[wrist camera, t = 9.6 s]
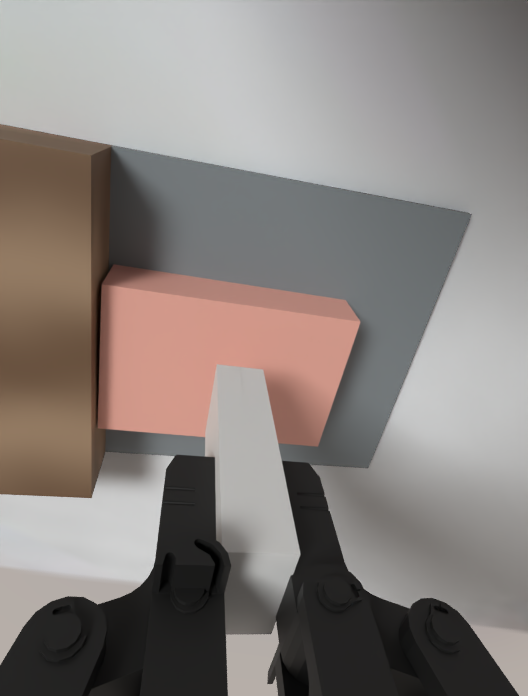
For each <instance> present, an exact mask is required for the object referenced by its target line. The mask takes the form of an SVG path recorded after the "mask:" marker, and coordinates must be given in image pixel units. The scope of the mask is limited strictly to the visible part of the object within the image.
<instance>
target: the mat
mask: <svg viewBox="0 0 528 696" xmlns="http://www.w3.org/2000/svg"><path fill="white" fill-rule="evenodd" d="M471 215H472V214H469V213H466V212H461V211H456V210H450V209H445V208H440V207H434V206H429V205H424V204H419V203H413V202H408V201H403V200H398V199H392V198H387V197H382V196H376V195H371V194H366V193H361V192H355V191H350V190H345V189H339V188H334V187H329V186H324V185H318V184H313V183H308V182H302V181H297V180H292V179H287V178H281V177H276V176H271V175H265V174H260V173H255V172H250V171H244V170H239V169H234V168H229V167H223V166H218V165H213V164H207V163H202V162H197V161H192V160H186V159H181V158H176V157H170V156H165V155H160V154H155V153H149V152H144V151H139V150H133V149H128V148H123V147H118V146H111V175H110V229H109V271H110V269H111V268H112V266H113V264H115V265H121V266H128V267H134V268H141V269H147V270H154V271H160V272H167V273H173V274H180V275H186V276H193V277H199V278H206V279H212V280H219V281H225V282H232V283H238V284H245V285H251V286H258V287H264V288H271V289H277V290H284V291H290V292H297V293H303V294H310V295H316V296H323V297H329V298H335V299H342V300H346V301H347V303H348V304H349V306H350V307H351V309H352V310H353V311H354V313H355V314H356V316H357V317H358V319H359V320H360V325H359V328H358V331H357V334H356V337H355V340H354V343H353V346H352V349H351V352H350V354H349V357H348V360H347V363H346V366H345V369H344V372H343V375H342V378H341V381H340V384H339V387H338V389H337V392H336V395H335V398H334V401H333V404H332V407H331V410H330V413H329V416H328V419H327V422H326V424H325V427H324V430H323V433H322V436H321V439H320V442H319V445H318V447H317V446H305V445H293V444H281V443H278V445H279V450H280V455H281V460H282V461H292V462H306V463H309V464H311V465H327V466H343V467H358V468H368V467H369V464H370V462H371V460H372V457H373V455H374V452H375V450H376V447H377V445H378V442H379V440H380V437H381V435H382V433H383V430H384V428H385V425H386V423H387V420H388V418H389V415H390V413H391V411H392V408H393V406H394V403H395V401H396V398H397V396H398V393H399V391H400V389H401V386H402V384H403V381H404V379H405V376H406V374H407V371H408V369H409V366H410V364H411V362H412V359H413V357H414V354H415V352H416V349H417V347H418V344H419V342H420V340H421V337H422V335H423V332H424V330H425V327H426V325H427V322H428V320H429V318H430V315H431V313H432V310H433V308H434V305H435V303H436V300H437V298H438V295H439V293H440V291H441V288H442V286H443V283H444V281H445V278H446V276H447V273H448V271H449V269H450V266H451V264H452V261H453V259H454V256H455V254H456V251H457V249H458V247H459V244H460V242H461V239H462V237H463V234H464V232H465V229H466V227H467V224H468V222H469V220H470V217H471ZM105 452H120V453H136V454H152V455H167V456H176V455H191V456H205V437H197V436H185V435H173V434H161V433H149V432H137V431H124V430H112V429H106V442H105Z"/></svg>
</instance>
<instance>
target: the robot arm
mask: <svg viewBox="0 0 528 696" xmlns="http://www.w3.org/2000/svg"><path fill="white" fill-rule="evenodd" d="M275 622H277V630H278V637H279V645H278V648H277V650H276V653H275V656H274V658H273V661H272V663H271V666H270V668H269V671H268V684H272V683H273V681H274V679H275V677H276V680H277V688H278V696H519V695H518V694H517V692H516V691H515V689H514V688H513V686H512V685H511V683H510V682H509V681H508V679H507V678H506V676H505V675H504V674H503V672H502V671H501V669H500V668H499V666H498V665H497V664H496V662H495V661H494V659H493V658H492V657H491V655H490V654H489V652H488V651H487V649H486V648H485V647H484V645H483V644H482V642H481V641H480V639H479V638H478V637H477V635H476V634H475V632H474V631H473V629H472V628H471V627H470V625H469V624H468V623H467V621H466V620H465V619H464V618H463V617H462V616H461V615H460V614H459V612H458V611H456V610H455V609H453V608H452V607H451V606H449V605H448V604H446V603H445V602H442V601H439V600H436V599H433V598H424V599H420V600H418V601H417V602H415V603H413V604H412V606H411V608H410V609H409V608H406V607H403V606H401V605H398V604H395V603H392V602H389V601H386V600H384V599H381V598H379V597H376V596H374V595H372V594H370V593H369V592H367V591H366V590H365V589H363V587H362V585H361V583H360V582H359V581H358V579H357V578H356V577H355V576H354V575H353V574H352V573H351V572H349V571H348V569H347V567H346V564H345V562H344V559H343V555H342V552H341V548H340V545H339V542H338V538H337V535H336V531H335V528H334V525H333V521H332V518H331V514H330V511H328V504H327V501H326V497H324V491H323V487H322V484H321V480H320V477H319V476H318V475H317V473H316V472H315V471H314V470H313V468H312V467H311V466H310V464H309V463H306V462H292V461H282V460H281V455H280V450H279V445H278V440H277V435H276V430H275V425H274V420H273V415H272V410H271V405H270V401H269V396H268V391H267V386H266V381H265V376H264V371H263V369H254V368H245V367H237V366H228V365H219V364H217V366H216V372H215V378H214V384H213V390H212V395H211V401H210V407H209V413H208V419H207V425H206V430H205V456H191V455H176V456H175V457H174V459H173V460H172V461H171V463H170V464H169V466H168V467H167V469H166V476H165V484H164V492H163V500H162V508H161V516H160V525H159V533H158V542H157V550H156V559H155V563H154V567H153V570H152V571H151V573H150V575H149V577H148V578H147V579H146V580H145V582H144V583H143V584H142V585H141V586H140V587H138V588H137V589H135V590H134V591H133V592H132V593H129V594H127V595H125V596H123V597H120V598H117V599H114V600H111V601H108V602H105V603H101V604H98V605H97V604H96V603H94V602H92V601H90V600H88V599H86V598H84V597H69V596H68V597H65V598H61V599H58V600H55V601H52V602H50V603H48V604H47V605H46V606H44V607H43V608H41V609H40V610H38V611H37V612H35V614H34V615H33V616H32V617H31V619H30V620H29V621H28V622H27V623H26V625H25V626H24V627H23V629H22V630H21V632H20V634H19V635H18V637H17V639H16V641H15V642H14V644H13V645H12V647H11V649H10V650H9V652H8V654H7V655H6V657H5V658H4V660H3V662H2V663H1V665H0V696H228V690H227V665H226V664H227V660H226V634H271V633H272V630H273V628H274V625H275Z"/></svg>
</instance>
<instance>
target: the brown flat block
mask: <svg viewBox="0 0 528 696" xmlns="http://www.w3.org/2000/svg"><path fill="white" fill-rule="evenodd" d="M111 146H112V145H107V144H102V143H96V142H91V141H86V140H81V139H75V138H70V137H65V136H59V135H54V134H49V133H44V132H38V131H33V130H28V129H23V128H17V127H12V126H7V125H1V124H0V494H11V495H34V496H57V497H80V498H92V494H93V491H94V488H95V484H96V481H97V478H98V474H99V471H100V468H101V464H102V461H103V458H104V454H105V442H106V429H100V428H98V397H99V361H100V325H101V289H102V283H103V281H104V280H105V278H106V276H107V274H108V273H109V229H110V175H111Z"/></svg>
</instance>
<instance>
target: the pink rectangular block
mask: <svg viewBox="0 0 528 696" xmlns="http://www.w3.org/2000/svg"><path fill="white" fill-rule="evenodd" d="M359 325H360V320H359V319H358V317H357V316H356V314H355V313H354V311H353V310H352V309H351V307H350V306H349V304H348V303H347V301H346V300H342V299H335V298H329V297H323V296H316V295H310V294H303V293H297V292H290V291H284V290H277V289H271V288H264V287H258V286H251V285H245V284H238V283H232V282H225V281H219V280H212V279H206V278H199V277H193V276H186V275H180V274H173V273H167V272H160V271H154V270H147V269H141V268H134V267H128V266H121V265H115V264H113V266H112V268H111V269H110V271H109V273H108V274H107V276H106V278H105V280H104V281H103V283H102V289H101V325H100V361H99V397H98V428H100V429H112V430H124V431H137V432H149V433H161V434H173V435H185V436H197V437H205V430H206V425H207V419H208V413H209V407H210V401H211V395H212V390H213V384H214V378H215V372H216V366H217V364H219V365H228V366H237V367H245V368H254V369H263V371H264V376H265V381H266V386H267V391H268V396H269V401H270V405H271V410H272V415H273V420H274V425H275V430H276V435H277V440H278V443H281V444H293V445H305V446H317V447H318V445H319V442H320V439H321V436H322V433H323V430H324V427H325V424H326V422H327V419H328V416H329V413H330V410H331V407H332V404H333V401H334V398H335V395H336V392H337V389H338V387H339V384H340V381H341V378H342V375H343V372H344V369H345V366H346V363H347V360H348V357H349V354H350V352H351V349H352V346H353V343H354V340H355V337H356V334H357V331H358V328H359Z"/></svg>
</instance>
